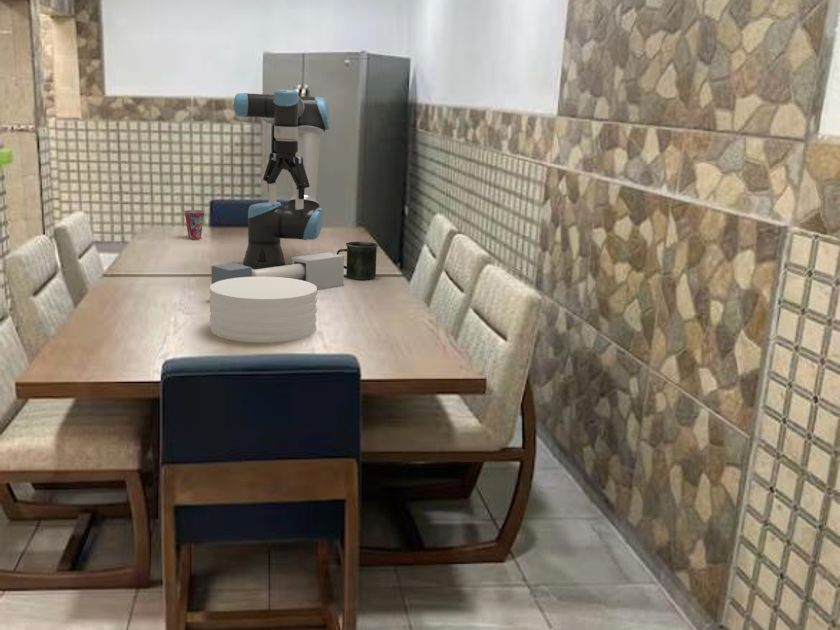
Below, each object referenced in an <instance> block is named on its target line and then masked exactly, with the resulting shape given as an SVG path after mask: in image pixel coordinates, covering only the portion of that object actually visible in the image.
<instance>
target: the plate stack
mask: <svg viewBox="0 0 840 630" xmlns="http://www.w3.org/2000/svg"><path fill="white" fill-rule="evenodd" d="M317 293H318V290H317V287H316V286H315V285H314V284H312V283H309V282H306V281H303V280H298V279H292V278H283V277H240V278H231V279H226V280H221V281H218V282H215V283H213V284H212V283H211V285H210V286H209V294H210V295H209V302H210V305H209V313H210V314H209V321H210V324H209V329H210V330H209V331H210V332H211V333H212V334H214V335H215V336H217V337H220V338H223V339H227V340H229V341H231V340H232V341H237V342H245V343H280V342H291V341H296V340H299V339H304V338H306V337H309V336H311V335H313V334H314V333H316V331H317V314H316V313H317V308H318V307H317V302H318V297H317Z"/></svg>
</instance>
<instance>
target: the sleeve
mask: <svg viewBox="0 0 840 630" xmlns="http://www.w3.org/2000/svg"><path fill="white" fill-rule="evenodd" d="M299 263H306V278H303V279H298V280H303V281H306V282H309V283H312V284H314V285H315V286H316V287H317V291H318V290H323V289H329V288H334V287H340V286H341V287H342V286H344V278H345V277H344V273H345V272H344V270H345V269H344V266H345V256H344V255H341V254H339V255H337V253H333V252H322V253H313V254H307V255H299V256H292V257H291V265H292V264H299Z"/></svg>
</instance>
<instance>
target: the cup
mask: <svg viewBox="0 0 840 630" xmlns="http://www.w3.org/2000/svg"><path fill="white" fill-rule="evenodd" d="M183 212H184V215H185V223H186V224H185V225H186V229H187V236H188V237H187V238H188V240H189V239H190V241H191V240H192V241H200V240H199V239H202V233H203V223H204V218H205V217H204V216H205V213H206V212H205V210H203V209H202V210H200V209H189V210H184V211H183Z"/></svg>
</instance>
